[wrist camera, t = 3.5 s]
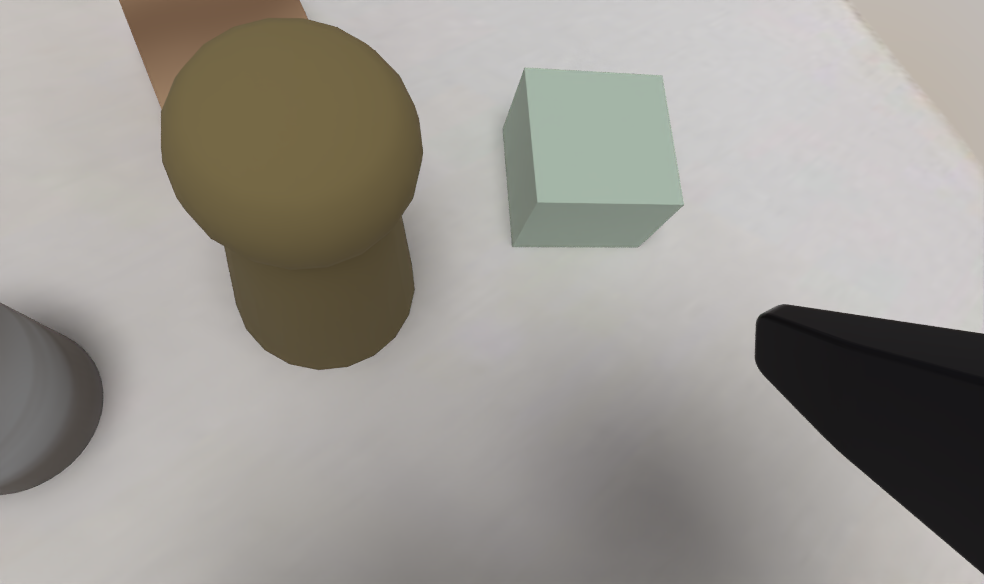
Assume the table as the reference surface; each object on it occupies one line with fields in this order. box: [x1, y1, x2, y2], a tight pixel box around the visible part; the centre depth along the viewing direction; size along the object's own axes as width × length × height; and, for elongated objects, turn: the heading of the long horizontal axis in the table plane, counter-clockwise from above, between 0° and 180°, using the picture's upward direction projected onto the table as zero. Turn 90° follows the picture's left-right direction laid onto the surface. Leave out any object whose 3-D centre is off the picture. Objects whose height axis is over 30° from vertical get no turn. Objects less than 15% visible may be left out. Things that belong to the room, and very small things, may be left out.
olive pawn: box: [161, 18, 423, 370], centre depth 17 cm, size 6×6×11 cm
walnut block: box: [119, 0, 308, 109], centre depth 22 cm, size 6×5×4 cm
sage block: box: [503, 68, 684, 247], centre depth 23 cm, size 5×5×4 cm
